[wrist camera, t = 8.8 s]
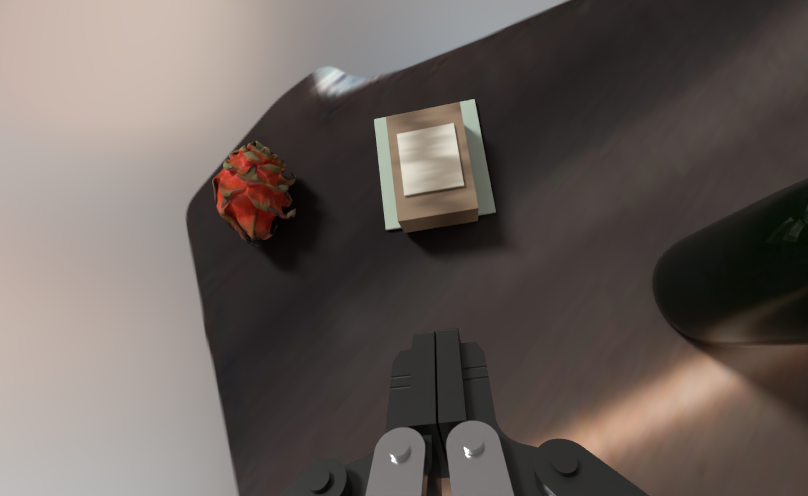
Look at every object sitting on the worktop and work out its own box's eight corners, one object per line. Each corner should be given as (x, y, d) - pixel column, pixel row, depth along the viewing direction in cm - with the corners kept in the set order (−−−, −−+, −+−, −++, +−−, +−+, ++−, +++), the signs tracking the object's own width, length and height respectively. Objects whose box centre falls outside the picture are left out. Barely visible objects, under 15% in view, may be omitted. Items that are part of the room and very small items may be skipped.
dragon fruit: (286, 159, 51) (286, 252, 49) (212, 150, 47) (210, 251, 45) (301, 134, 43) (301, 244, 42) (214, 121, 39) (211, 241, 38)
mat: (474, 101, 46) (474, 99, 46) (495, 212, 43) (495, 211, 42) (374, 121, 48) (374, 119, 48) (386, 230, 44) (385, 229, 44)
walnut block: (477, 221, 42) (460, 123, 46) (478, 206, 38) (459, 100, 41) (404, 232, 43) (392, 136, 47) (397, 220, 39) (385, 115, 42)
